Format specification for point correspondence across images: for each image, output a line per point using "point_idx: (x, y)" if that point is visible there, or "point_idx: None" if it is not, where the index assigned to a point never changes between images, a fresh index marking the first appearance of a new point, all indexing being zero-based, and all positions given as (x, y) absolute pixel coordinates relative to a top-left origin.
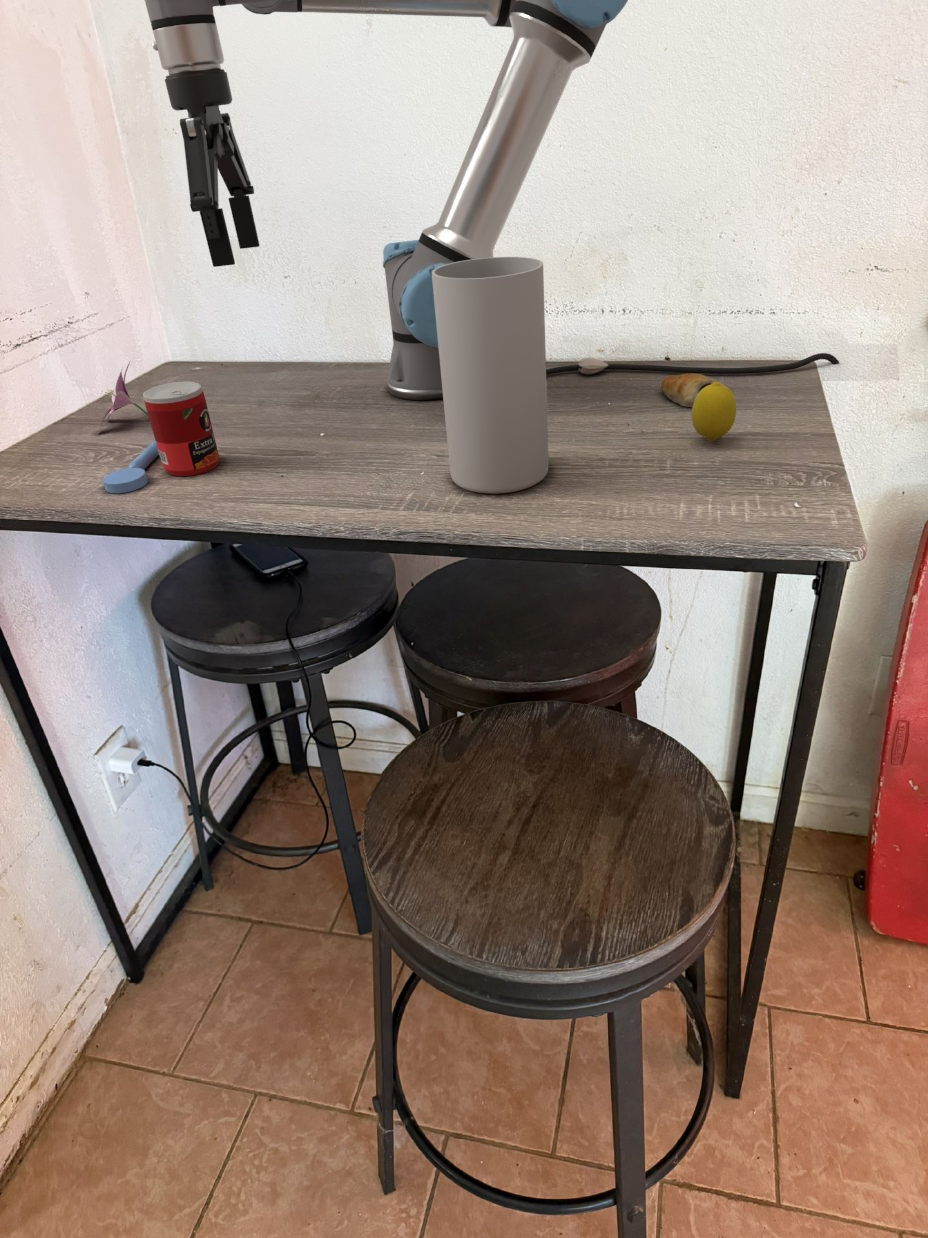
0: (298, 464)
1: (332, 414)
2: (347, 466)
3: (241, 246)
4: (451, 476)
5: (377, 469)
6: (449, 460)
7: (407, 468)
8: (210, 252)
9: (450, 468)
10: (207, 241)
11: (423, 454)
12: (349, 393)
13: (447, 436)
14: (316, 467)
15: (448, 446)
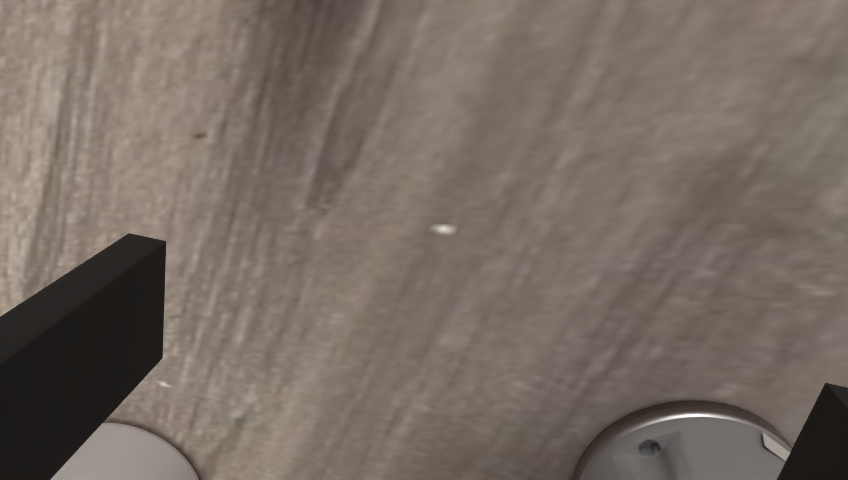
0: (262, 170)
1: (588, 260)
2: (226, 267)
3: (826, 402)
4: (101, 425)
5: (198, 318)
6: (90, 444)
7: (192, 366)
8: (75, 272)
9: (95, 435)
10: (21, 306)
11: (254, 400)
12: (752, 313)
13: (59, 477)
14: (235, 208)
15: (71, 463)
